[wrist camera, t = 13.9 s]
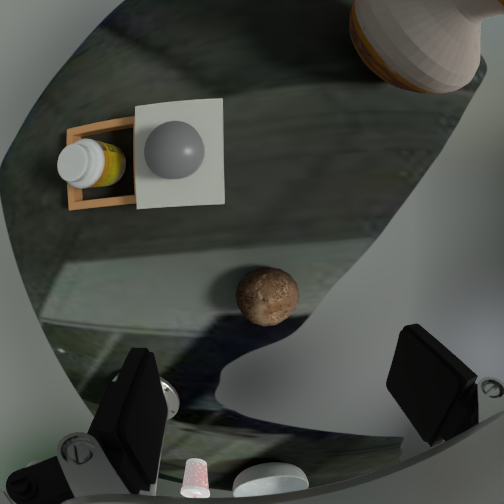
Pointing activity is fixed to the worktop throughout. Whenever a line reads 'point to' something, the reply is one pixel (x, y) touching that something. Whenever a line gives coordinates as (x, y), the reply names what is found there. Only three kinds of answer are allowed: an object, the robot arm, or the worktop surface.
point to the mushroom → (267, 296)
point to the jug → (421, 40)
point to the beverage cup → (195, 479)
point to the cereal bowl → (269, 480)
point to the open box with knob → (167, 155)
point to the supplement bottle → (91, 164)
